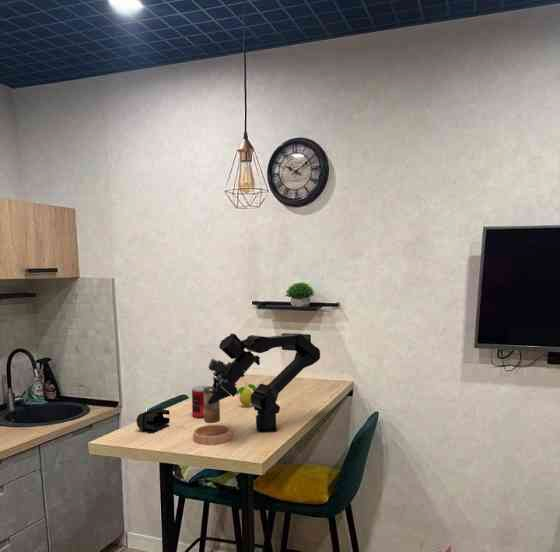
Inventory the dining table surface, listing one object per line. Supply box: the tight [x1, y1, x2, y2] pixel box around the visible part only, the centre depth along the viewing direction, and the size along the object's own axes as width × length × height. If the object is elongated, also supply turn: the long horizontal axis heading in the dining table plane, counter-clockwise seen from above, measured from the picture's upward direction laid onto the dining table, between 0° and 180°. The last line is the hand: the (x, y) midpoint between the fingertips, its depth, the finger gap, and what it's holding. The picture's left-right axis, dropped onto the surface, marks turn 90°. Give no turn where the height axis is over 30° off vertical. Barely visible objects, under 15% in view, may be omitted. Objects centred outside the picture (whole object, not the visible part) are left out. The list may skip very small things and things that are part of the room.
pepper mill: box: [203, 385, 221, 424], centre depth 160 cm, size 5×5×11 cm
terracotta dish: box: [192, 424, 233, 446], centre depth 160 cm, size 13×13×2 cm
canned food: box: [191, 384, 210, 419], centre depth 186 cm, size 8×8×11 cm
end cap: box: [135, 406, 170, 434], centre depth 171 cm, size 10×7×7 cm
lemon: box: [236, 383, 257, 407], centre depth 199 cm, size 7×6×10 cm
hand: (207, 401), depth 160 cm, fingers closed on pepper mill, 5 cm apart
